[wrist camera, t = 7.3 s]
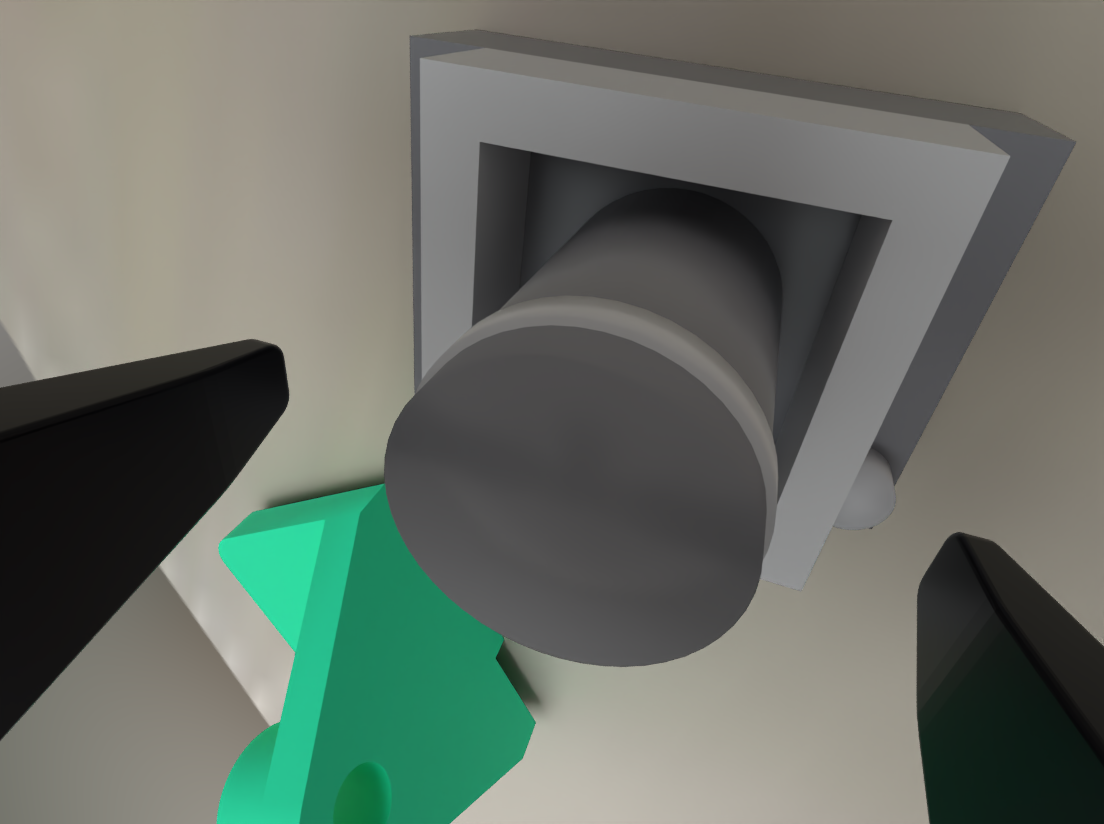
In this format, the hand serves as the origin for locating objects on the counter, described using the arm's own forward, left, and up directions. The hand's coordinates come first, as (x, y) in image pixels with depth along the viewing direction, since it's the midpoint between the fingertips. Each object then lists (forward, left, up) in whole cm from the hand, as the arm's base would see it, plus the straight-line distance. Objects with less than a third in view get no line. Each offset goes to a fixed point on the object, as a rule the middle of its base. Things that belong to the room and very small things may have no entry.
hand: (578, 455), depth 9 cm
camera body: (0, 0, -8) cm, 9 cm away
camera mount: (+8, +16, -9) cm, 20 cm away
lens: (0, 0, -6) cm, 6 cm away
